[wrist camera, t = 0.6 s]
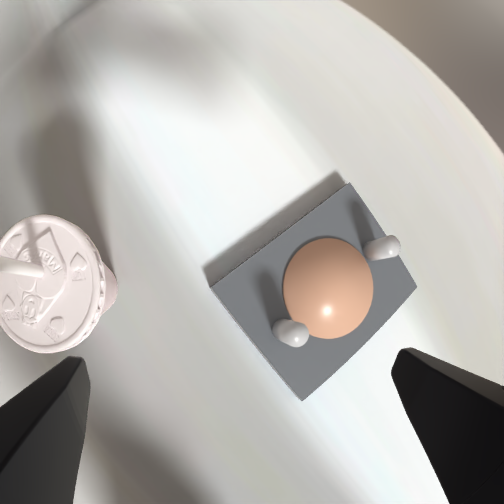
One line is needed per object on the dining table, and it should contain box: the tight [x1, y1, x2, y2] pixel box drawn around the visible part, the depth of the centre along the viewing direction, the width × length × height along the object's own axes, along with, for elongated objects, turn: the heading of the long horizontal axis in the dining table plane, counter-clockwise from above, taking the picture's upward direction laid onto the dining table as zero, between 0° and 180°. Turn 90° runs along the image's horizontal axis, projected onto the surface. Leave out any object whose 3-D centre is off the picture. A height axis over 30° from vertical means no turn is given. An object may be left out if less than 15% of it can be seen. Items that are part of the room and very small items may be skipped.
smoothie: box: [0, 214, 118, 353], centre depth 14 cm, size 6×6×14 cm
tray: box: [210, 182, 417, 401], centre depth 22 cm, size 14×11×4 cm
